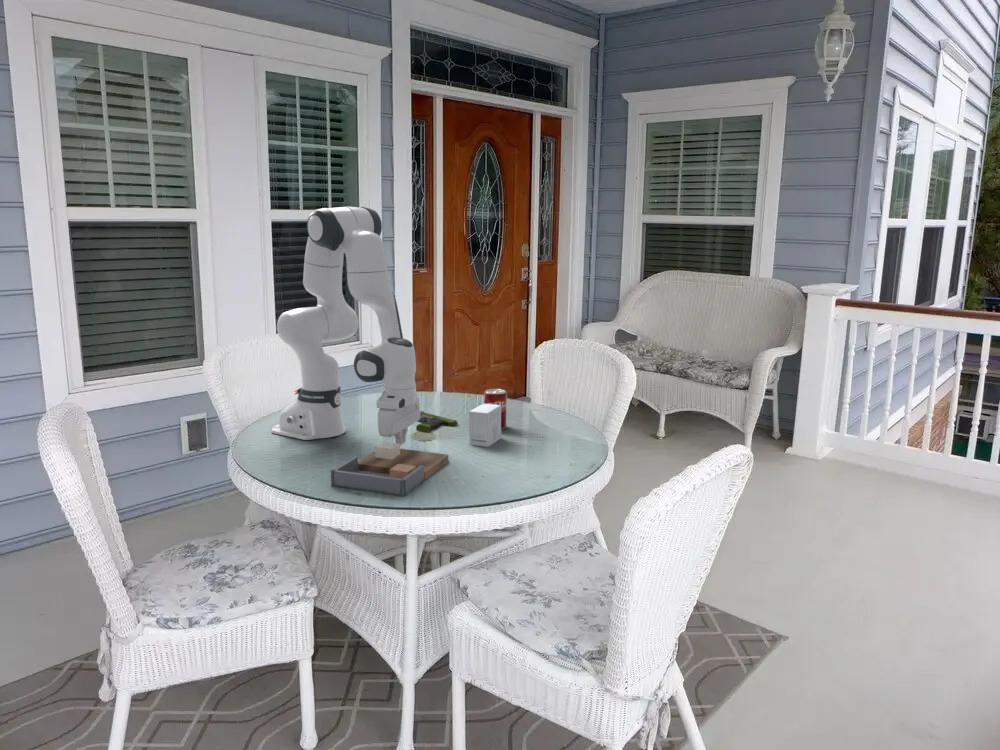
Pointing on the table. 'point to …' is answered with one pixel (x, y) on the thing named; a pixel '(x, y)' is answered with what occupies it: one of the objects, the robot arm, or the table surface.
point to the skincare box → (485, 425)
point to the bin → (374, 479)
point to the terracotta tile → (401, 471)
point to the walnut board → (405, 462)
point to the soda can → (497, 402)
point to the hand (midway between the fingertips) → (400, 443)
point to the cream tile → (387, 450)
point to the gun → (433, 422)
